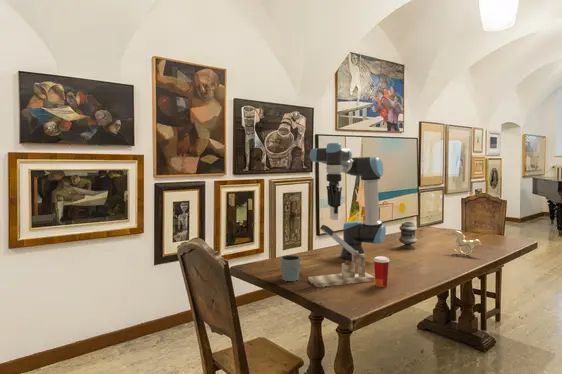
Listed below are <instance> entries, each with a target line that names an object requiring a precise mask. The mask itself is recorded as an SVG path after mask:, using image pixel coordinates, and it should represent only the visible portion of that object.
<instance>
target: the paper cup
mask: <svg viewBox="0 0 562 374" xmlns="http://www.w3.org/2000/svg"><path fill="white" fill-rule="evenodd" d="M389 262H390V259H389V257H386V256H375V257H374V258H373V264H374V266H373V267H374V282H375V283H374V284H375V286H376V287H377V288H386V287H388V281H389V279H388V278H389V277H388V276H389V265H390V263H389Z"/></svg>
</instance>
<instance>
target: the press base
mask: <svg viewBox="0 0 562 374" xmlns="http://www.w3.org/2000/svg"><path fill="white" fill-rule="evenodd" d="M357 252H358V251H357ZM307 278H308V280H309V281H310V284H312V283H313V284H314V285H313V284H312V285H313V286H315V287H316V288H317V287H318V288H326V287H325V286H327V287H334V285H335V286H344V285H349V284H351V283H352V284H358V283H359V284H360V283H366V282H367V283H370V282H375V276H373V275H371V274H369V273H368V272H366V253H364V254H359V257H358V259H357V258H355V257H354V256H353V255H352V260H351V259H346V260H345V261H344V262H342V263H341V272H340V273H334V274H333V273H332V274H325V275H315V276H314V275H313V276H308V277H307ZM309 281H308V282H309ZM343 284H344V285H343Z"/></svg>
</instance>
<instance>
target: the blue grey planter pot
mask: <svg viewBox="0 0 562 374" xmlns="http://www.w3.org/2000/svg"><path fill="white" fill-rule="evenodd" d="M280 259H281V261H280V262H281V277H282V281H283V280H286V281H295V280H298V281H299V276H300V263H301V257H300V256H299V255H293V254H292V255H291V254H290V255H288V254H287V255H282V256H281V257H280ZM286 281H285V282H286ZM295 282H296V281H295Z"/></svg>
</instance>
